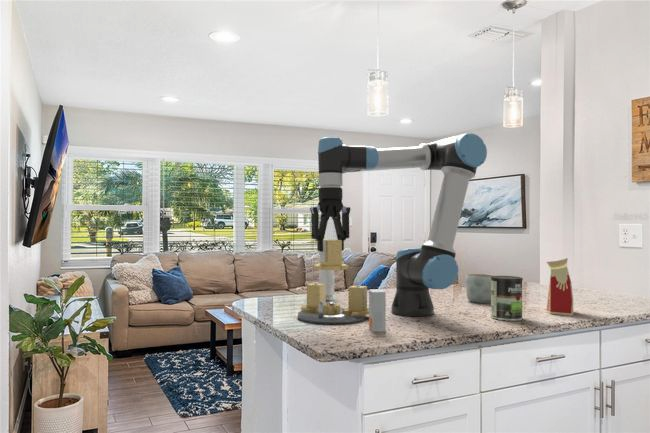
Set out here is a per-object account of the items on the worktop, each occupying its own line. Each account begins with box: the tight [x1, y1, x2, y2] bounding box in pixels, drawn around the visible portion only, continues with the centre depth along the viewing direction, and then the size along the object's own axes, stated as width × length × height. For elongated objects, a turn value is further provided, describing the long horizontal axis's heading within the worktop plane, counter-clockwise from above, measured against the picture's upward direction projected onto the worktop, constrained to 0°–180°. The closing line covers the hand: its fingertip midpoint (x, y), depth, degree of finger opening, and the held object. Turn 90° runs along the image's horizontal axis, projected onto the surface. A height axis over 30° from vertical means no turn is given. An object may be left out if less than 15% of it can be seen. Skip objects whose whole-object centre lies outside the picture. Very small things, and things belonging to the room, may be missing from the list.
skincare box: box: [368, 288, 387, 333], centre depth 158 cm, size 6×4×12 cm
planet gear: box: [312, 239, 349, 271], centre depth 162 cm, size 11×11×9 cm
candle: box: [318, 262, 336, 301], centre depth 219 cm, size 7×7×15 cm
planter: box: [465, 273, 497, 304], centre depth 213 cm, size 12×12×11 cm
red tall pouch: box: [545, 257, 574, 316], centre depth 188 cm, size 9×9×20 cm
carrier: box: [297, 282, 369, 326], centre depth 177 cm, size 27×23×11 cm
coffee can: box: [490, 275, 524, 322], centre depth 177 cm, size 10×10×14 cm
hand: (330, 261), depth 162 cm, fingers closed on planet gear, 5 cm apart
